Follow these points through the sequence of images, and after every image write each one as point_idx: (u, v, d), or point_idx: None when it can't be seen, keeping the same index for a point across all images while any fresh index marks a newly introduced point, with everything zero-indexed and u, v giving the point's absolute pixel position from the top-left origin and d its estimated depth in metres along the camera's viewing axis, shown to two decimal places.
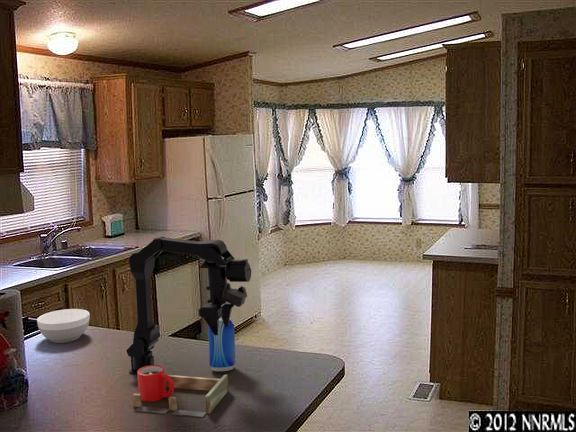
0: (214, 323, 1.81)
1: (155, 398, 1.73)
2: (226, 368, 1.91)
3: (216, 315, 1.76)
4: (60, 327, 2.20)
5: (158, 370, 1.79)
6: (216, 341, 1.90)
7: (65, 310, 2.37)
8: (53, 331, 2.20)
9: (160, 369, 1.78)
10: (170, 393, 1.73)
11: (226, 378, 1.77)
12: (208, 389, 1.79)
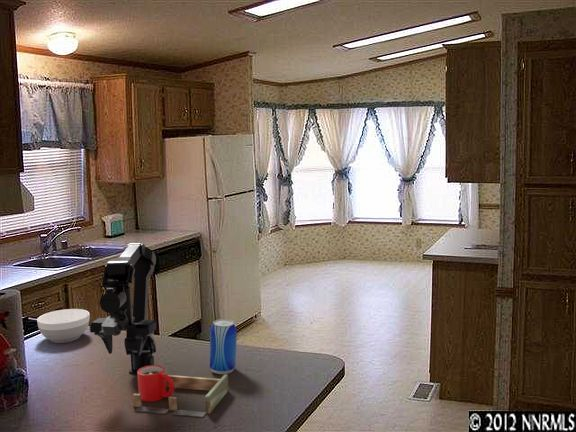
0: None
1: (155, 398, 1.73)
2: (227, 372, 1.91)
3: (90, 330, 1.75)
4: (60, 327, 2.20)
5: (158, 370, 1.79)
6: (218, 345, 1.88)
7: (65, 310, 2.37)
8: (53, 331, 2.20)
9: (160, 369, 1.78)
10: (170, 393, 1.73)
11: (226, 378, 1.77)
12: (208, 389, 1.79)
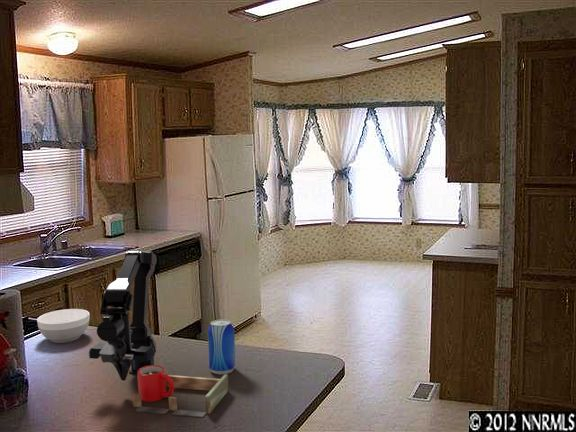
0: None
1: (155, 398, 1.73)
2: (226, 371, 1.91)
3: (89, 356, 1.77)
4: (60, 327, 2.20)
5: (158, 370, 1.79)
6: (216, 345, 1.89)
7: (65, 310, 2.37)
8: (53, 331, 2.20)
9: (160, 369, 1.78)
10: (170, 393, 1.73)
11: (226, 378, 1.77)
12: (208, 389, 1.79)
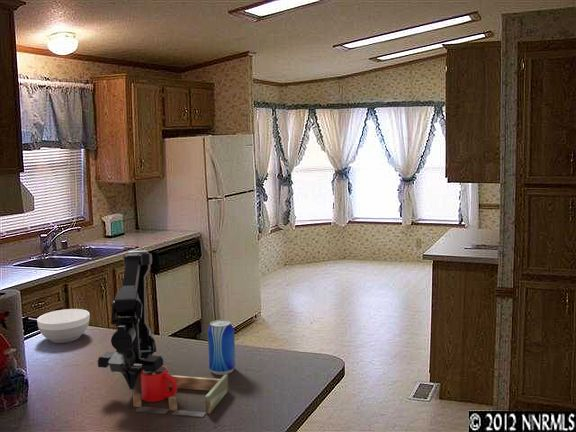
0: None
1: (158, 398, 1.73)
2: (226, 372, 1.91)
3: None
4: (60, 327, 2.20)
5: (161, 370, 1.79)
6: (216, 346, 1.89)
7: (65, 310, 2.37)
8: (53, 331, 2.20)
9: (163, 369, 1.78)
10: (173, 393, 1.73)
11: (226, 378, 1.77)
12: (208, 389, 1.79)
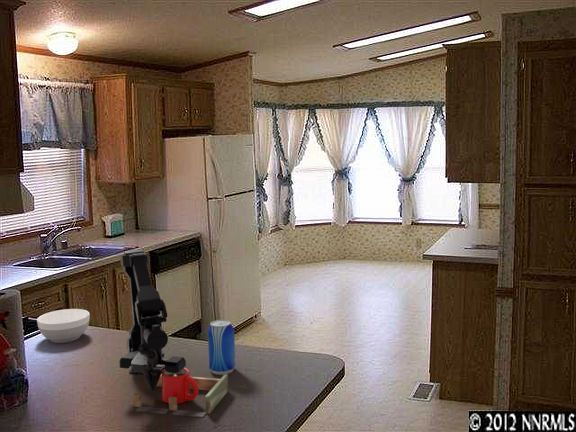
0: None
1: (178, 401, 1.71)
2: (226, 372, 1.91)
3: (119, 366, 1.75)
4: (60, 327, 2.20)
5: (183, 372, 1.76)
6: (216, 346, 1.89)
7: (65, 310, 2.37)
8: (53, 331, 2.20)
9: (185, 371, 1.76)
10: (194, 397, 1.70)
11: (226, 378, 1.77)
12: (208, 389, 1.79)
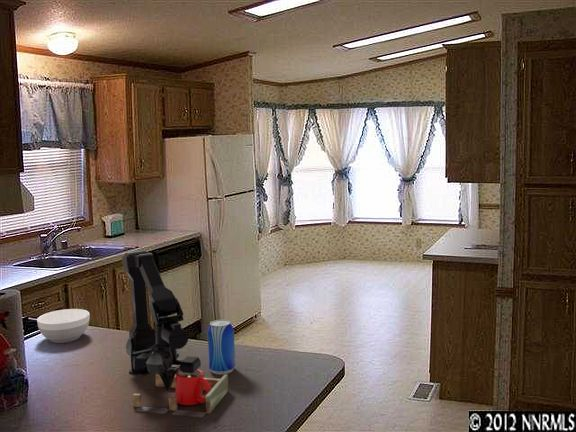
0: None
1: (190, 402, 1.69)
2: (226, 372, 1.91)
3: (134, 366, 1.73)
4: (60, 327, 2.20)
5: (197, 374, 1.75)
6: (216, 345, 1.89)
7: (65, 310, 2.37)
8: (53, 331, 2.20)
9: (199, 373, 1.74)
10: None
11: (226, 378, 1.77)
12: None
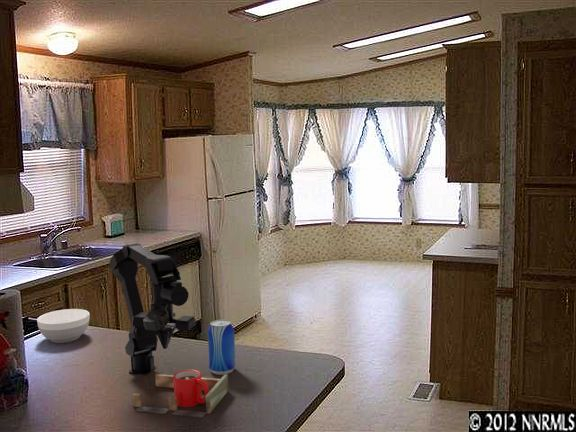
0: None
1: (190, 404, 1.69)
2: (226, 372, 1.91)
3: (132, 324, 1.81)
4: (60, 327, 2.20)
5: (195, 375, 1.75)
6: (216, 346, 1.89)
7: (65, 310, 2.37)
8: (53, 331, 2.20)
9: (197, 374, 1.74)
10: (205, 400, 1.68)
11: (226, 378, 1.77)
12: None
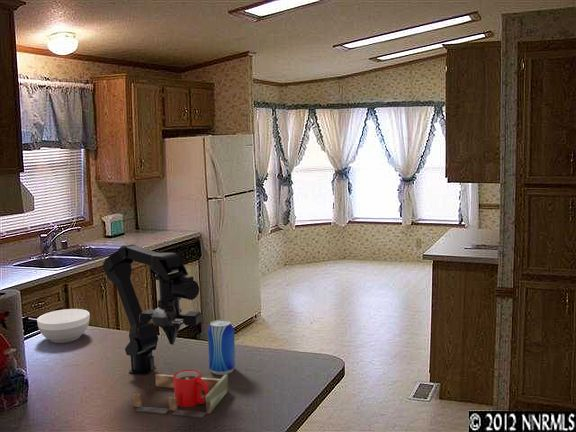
0: None
1: (190, 404, 1.69)
2: (226, 372, 1.91)
3: (139, 321, 1.83)
4: (60, 327, 2.20)
5: (195, 375, 1.75)
6: (216, 346, 1.89)
7: (65, 310, 2.37)
8: (53, 331, 2.20)
9: (197, 374, 1.74)
10: (205, 400, 1.68)
11: (226, 378, 1.77)
12: None
